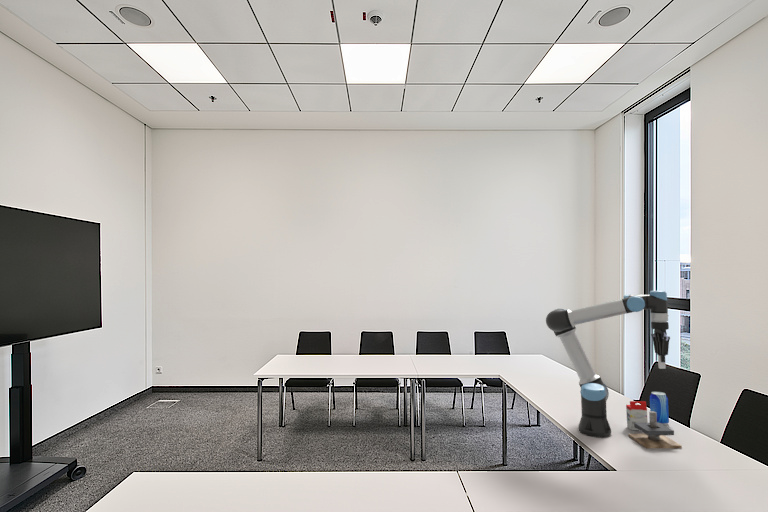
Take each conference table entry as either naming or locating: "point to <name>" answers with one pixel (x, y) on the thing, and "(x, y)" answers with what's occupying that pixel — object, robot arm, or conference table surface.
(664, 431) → the square holed plate
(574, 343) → the robot arm
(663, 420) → the beer can
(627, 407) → the ink box
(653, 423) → the pipe stand
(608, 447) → the conference table surface
